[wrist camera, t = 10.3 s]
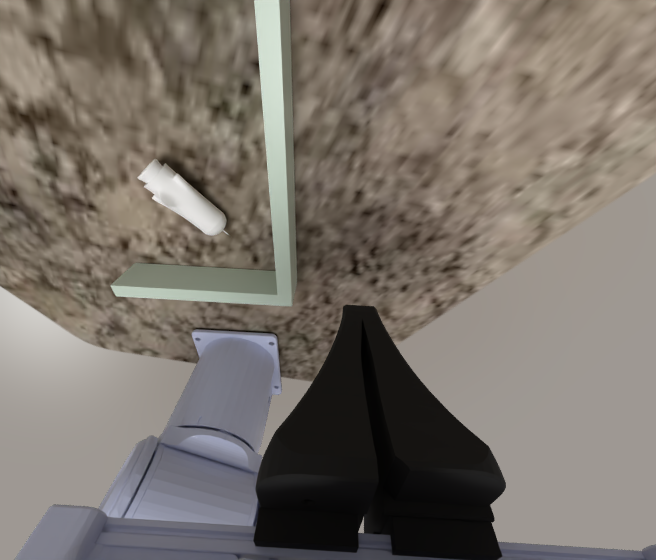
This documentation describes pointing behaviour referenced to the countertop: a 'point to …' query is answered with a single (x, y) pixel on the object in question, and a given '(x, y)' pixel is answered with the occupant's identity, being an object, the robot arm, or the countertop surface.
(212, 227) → the small white plastic part
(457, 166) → the countertop surface
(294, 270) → the light green u-shaped bracket
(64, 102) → the countertop surface
